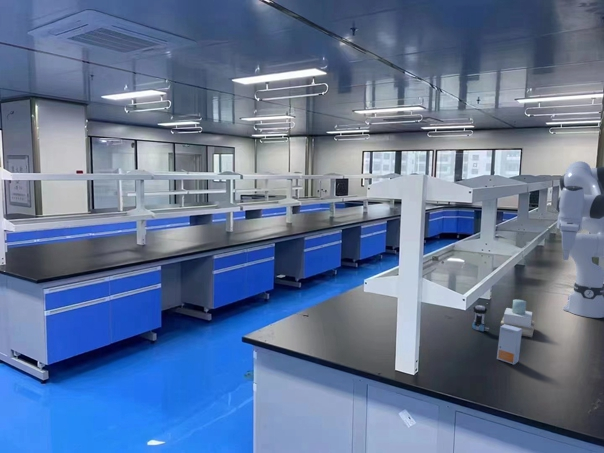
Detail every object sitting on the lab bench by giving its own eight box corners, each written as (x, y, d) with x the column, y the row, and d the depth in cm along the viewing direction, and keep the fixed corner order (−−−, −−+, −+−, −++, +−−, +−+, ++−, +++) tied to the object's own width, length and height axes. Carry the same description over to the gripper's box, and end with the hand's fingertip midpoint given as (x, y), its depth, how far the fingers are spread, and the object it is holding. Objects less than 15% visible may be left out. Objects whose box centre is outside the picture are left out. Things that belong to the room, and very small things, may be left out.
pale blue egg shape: (512, 310, 189) (513, 298, 188) (525, 312, 186) (526, 300, 186) (511, 312, 185) (512, 301, 184) (524, 315, 182) (525, 303, 181)
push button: (490, 330, 184) (492, 307, 183) (486, 333, 180) (488, 309, 179) (474, 326, 188) (476, 303, 187) (469, 329, 184) (471, 306, 183)
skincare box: (496, 359, 154) (499, 326, 153) (501, 356, 157) (504, 323, 156) (514, 365, 150) (518, 331, 149) (519, 361, 153) (522, 328, 152)
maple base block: (503, 324, 194) (503, 315, 194) (533, 330, 188) (534, 321, 188) (499, 332, 184) (500, 322, 184) (531, 338, 178) (532, 329, 178)
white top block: (505, 316, 193) (506, 307, 192) (531, 321, 188) (532, 312, 187) (503, 322, 184) (504, 313, 183) (530, 327, 179) (531, 318, 179)
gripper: (560, 222, 195) (556, 253, 196) (560, 226, 177) (556, 260, 179) (577, 224, 192) (573, 255, 193) (579, 227, 174) (575, 262, 176)
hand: (565, 257), depth 186 cm, fingers open, 8 cm apart
